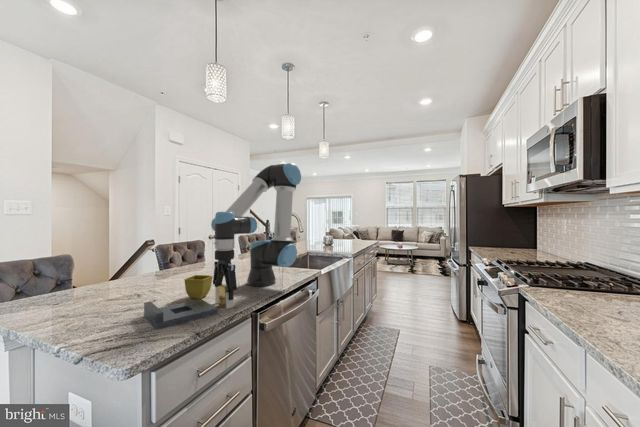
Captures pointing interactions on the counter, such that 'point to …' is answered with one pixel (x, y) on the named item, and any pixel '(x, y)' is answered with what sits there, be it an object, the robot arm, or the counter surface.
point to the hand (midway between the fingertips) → (224, 304)
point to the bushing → (222, 295)
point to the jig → (177, 313)
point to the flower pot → (198, 286)
